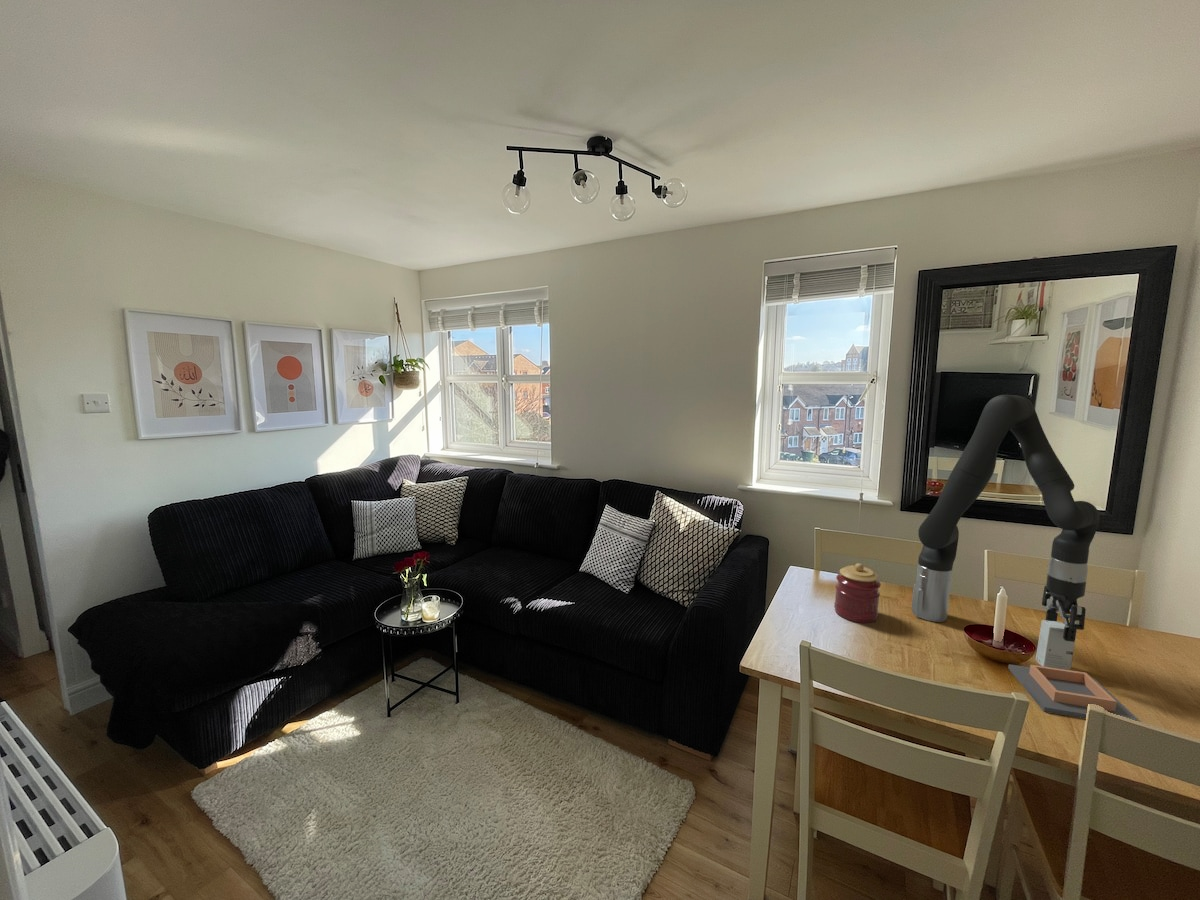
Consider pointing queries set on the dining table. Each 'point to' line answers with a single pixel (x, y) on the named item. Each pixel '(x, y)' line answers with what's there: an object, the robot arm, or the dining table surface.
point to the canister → (857, 594)
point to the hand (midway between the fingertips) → (1059, 632)
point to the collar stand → (1066, 691)
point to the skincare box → (1054, 646)
